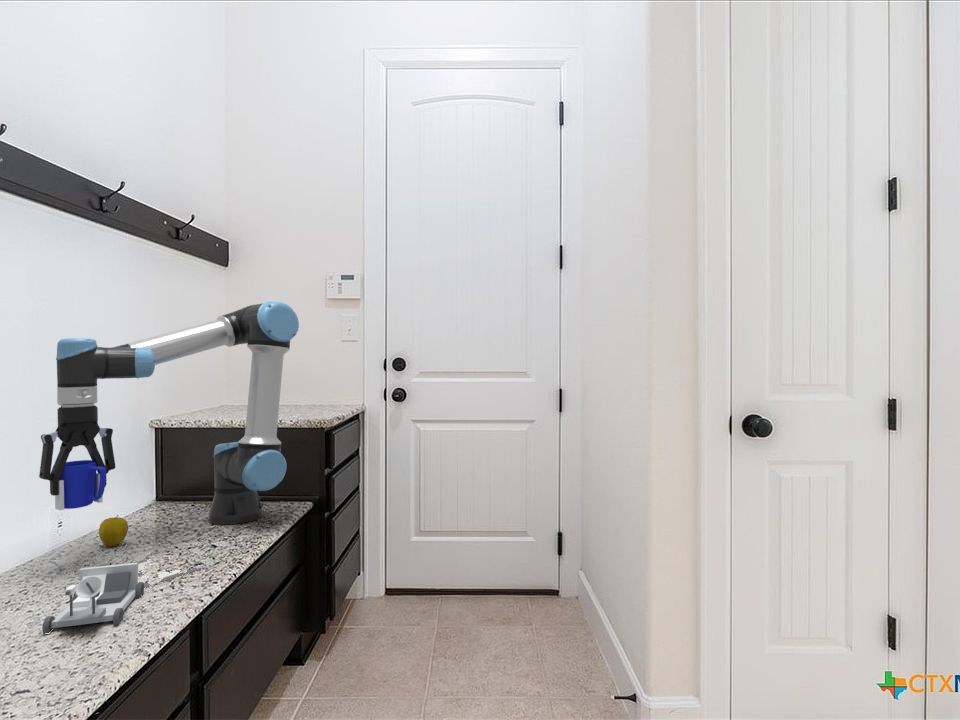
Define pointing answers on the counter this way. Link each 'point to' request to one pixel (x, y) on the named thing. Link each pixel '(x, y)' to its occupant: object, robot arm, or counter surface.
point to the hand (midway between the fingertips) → (79, 505)
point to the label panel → (164, 574)
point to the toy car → (99, 596)
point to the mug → (81, 483)
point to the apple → (113, 531)
